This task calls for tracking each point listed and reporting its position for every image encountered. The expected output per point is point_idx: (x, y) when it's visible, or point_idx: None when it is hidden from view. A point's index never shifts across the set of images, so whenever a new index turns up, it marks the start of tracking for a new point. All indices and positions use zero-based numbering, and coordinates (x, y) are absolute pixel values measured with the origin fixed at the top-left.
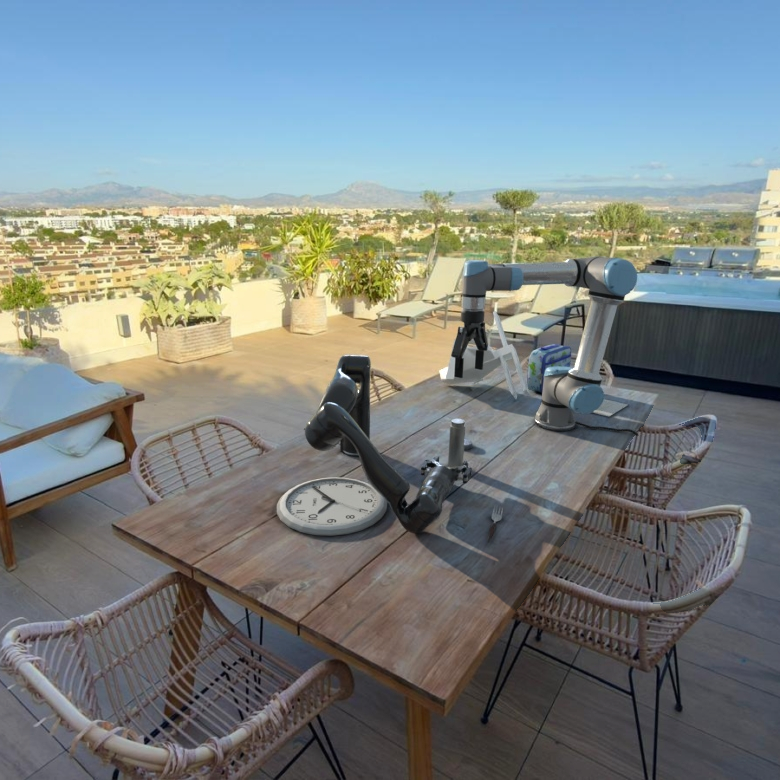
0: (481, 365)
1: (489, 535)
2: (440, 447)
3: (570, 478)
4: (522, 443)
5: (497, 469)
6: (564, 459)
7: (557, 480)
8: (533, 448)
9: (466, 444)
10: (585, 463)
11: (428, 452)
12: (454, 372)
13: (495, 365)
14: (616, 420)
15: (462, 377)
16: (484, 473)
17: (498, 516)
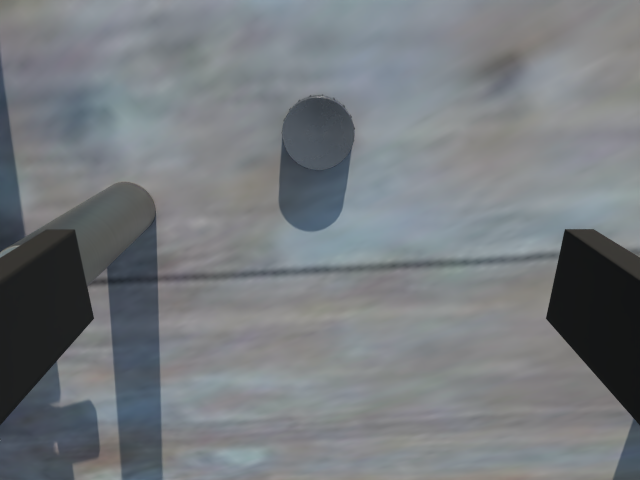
0: (574, 344)
1: None
2: (240, 55)
3: (317, 472)
4: (487, 291)
5: (225, 316)
6: (433, 428)
7: (282, 455)
8: (464, 335)
9: (299, 158)
10: (440, 472)
11: (159, 43)
12: (10, 251)
13: None
14: None
15: (90, 319)
16: (169, 299)
17: None
